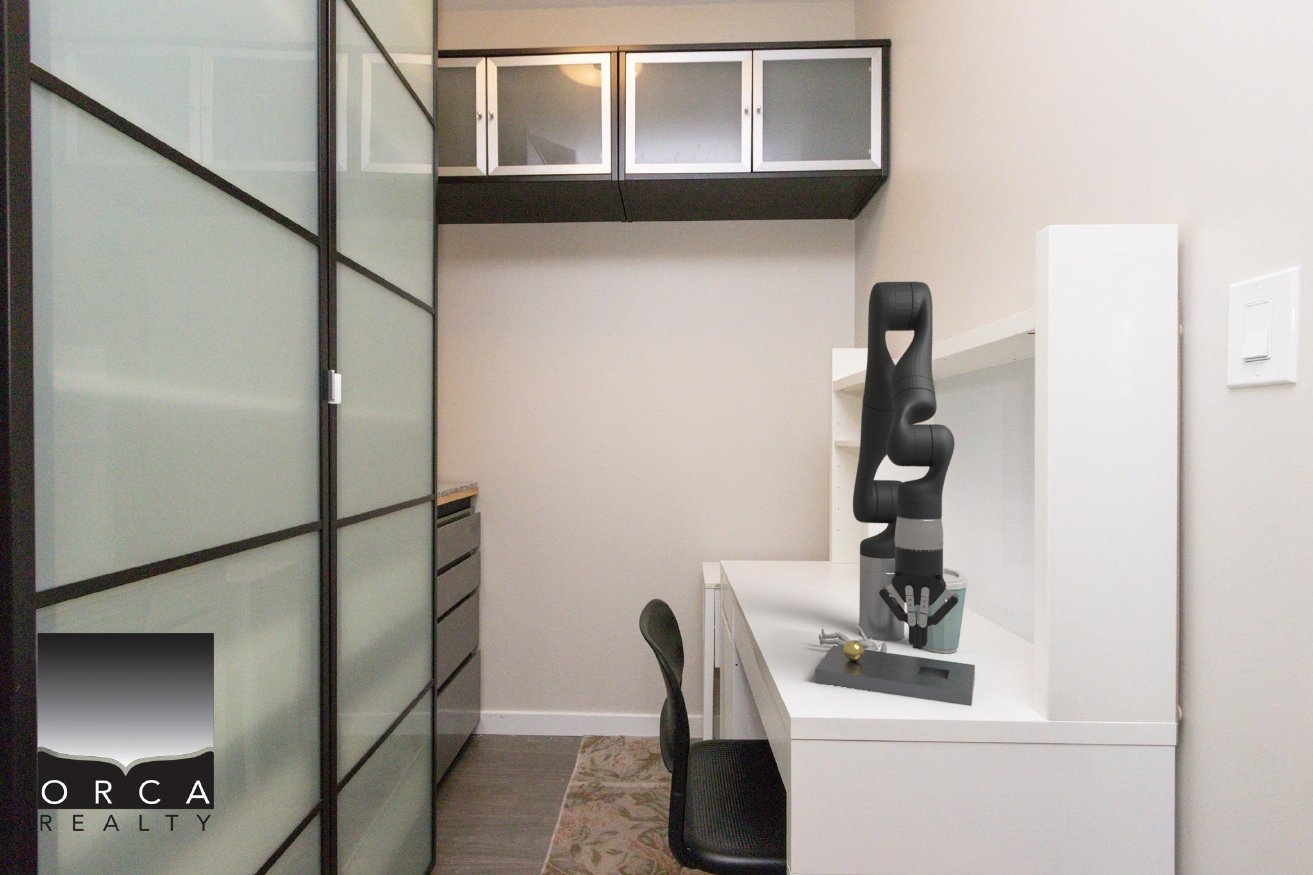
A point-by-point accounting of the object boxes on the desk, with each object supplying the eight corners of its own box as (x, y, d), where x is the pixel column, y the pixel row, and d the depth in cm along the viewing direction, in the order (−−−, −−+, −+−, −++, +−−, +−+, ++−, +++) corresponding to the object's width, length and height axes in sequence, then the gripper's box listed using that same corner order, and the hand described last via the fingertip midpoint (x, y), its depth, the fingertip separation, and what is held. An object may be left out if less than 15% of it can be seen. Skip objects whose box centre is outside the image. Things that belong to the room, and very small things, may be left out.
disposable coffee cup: (974, 659, 131) (975, 578, 130) (914, 655, 133) (914, 576, 132) (960, 641, 141) (960, 567, 141) (904, 638, 143) (904, 565, 143)
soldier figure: (824, 621, 140) (886, 621, 135) (827, 644, 141) (890, 645, 136) (816, 638, 133) (881, 639, 128) (819, 662, 134) (885, 664, 129)
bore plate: (833, 658, 131) (833, 645, 131) (974, 679, 120) (974, 664, 120) (815, 683, 118) (815, 668, 118) (971, 709, 108) (971, 693, 108)
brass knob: (845, 656, 125) (845, 636, 125) (865, 659, 123) (865, 639, 123) (841, 662, 122) (841, 642, 122) (862, 665, 120) (862, 644, 120)
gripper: (963, 543, 118) (962, 646, 118) (881, 538, 124) (880, 636, 124) (960, 551, 111) (959, 660, 111) (874, 544, 117) (873, 648, 117)
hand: (917, 647), depth 118 cm, fingers closed
